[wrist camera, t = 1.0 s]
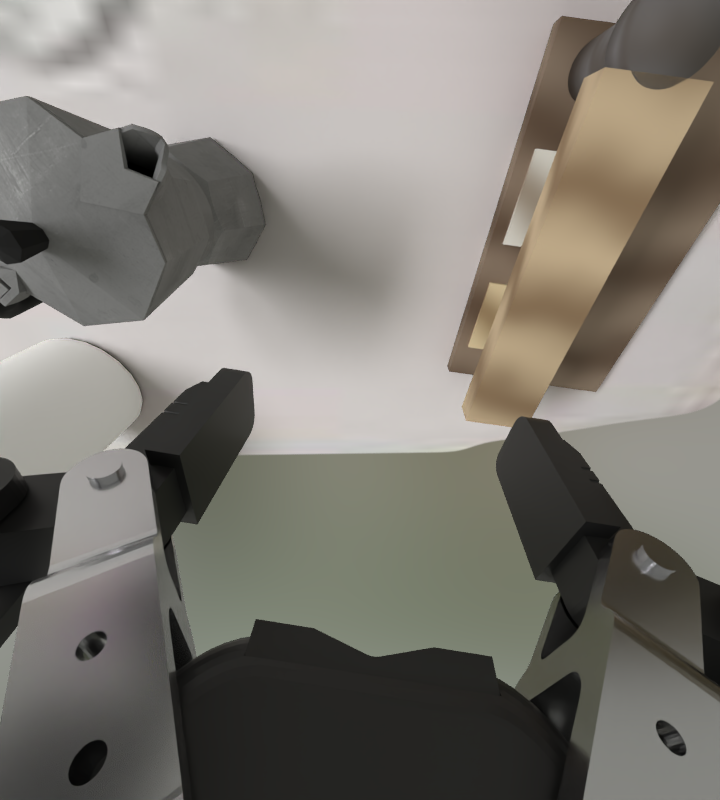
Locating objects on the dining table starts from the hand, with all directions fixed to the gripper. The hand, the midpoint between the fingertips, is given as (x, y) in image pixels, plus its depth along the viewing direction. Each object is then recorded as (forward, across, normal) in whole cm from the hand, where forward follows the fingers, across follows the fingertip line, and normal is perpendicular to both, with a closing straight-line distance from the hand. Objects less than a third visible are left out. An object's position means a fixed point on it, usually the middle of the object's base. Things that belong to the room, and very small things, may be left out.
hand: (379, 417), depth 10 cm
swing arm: (+16, -11, -3) cm, 19 cm away
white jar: (+23, +33, +18) cm, 44 cm away
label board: (+22, -15, -4) cm, 27 cm away
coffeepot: (+22, +16, -2) cm, 28 cm away
